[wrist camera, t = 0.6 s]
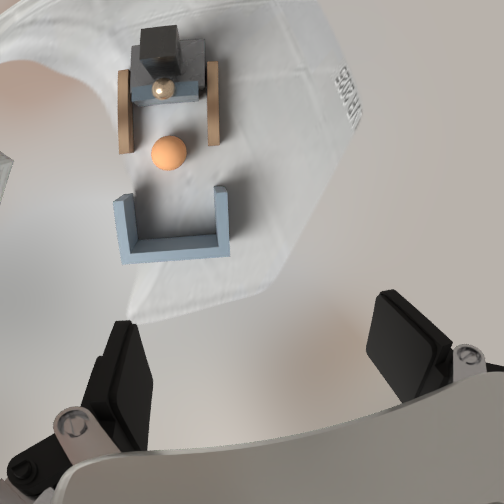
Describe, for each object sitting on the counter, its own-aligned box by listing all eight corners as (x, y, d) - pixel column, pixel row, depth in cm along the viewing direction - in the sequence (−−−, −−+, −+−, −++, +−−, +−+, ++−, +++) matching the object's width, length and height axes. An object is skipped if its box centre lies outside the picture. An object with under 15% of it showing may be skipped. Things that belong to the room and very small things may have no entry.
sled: (135, 50, 28) (114, 21, 18) (204, 44, 29) (206, 10, 20) (134, 110, 30) (110, 98, 21) (204, 104, 32) (206, 88, 22)
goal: (123, 194, 34) (112, 201, 29) (223, 186, 36) (227, 192, 31) (130, 249, 37) (122, 264, 32) (226, 242, 38) (229, 256, 34)
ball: (153, 137, 32) (147, 136, 29) (186, 134, 33) (185, 133, 29) (155, 170, 34) (149, 173, 30) (188, 167, 34) (186, 170, 31)
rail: (123, 75, 29) (118, 70, 27) (216, 66, 31) (218, 61, 28) (124, 153, 32) (119, 154, 30) (218, 145, 34) (219, 145, 32)
